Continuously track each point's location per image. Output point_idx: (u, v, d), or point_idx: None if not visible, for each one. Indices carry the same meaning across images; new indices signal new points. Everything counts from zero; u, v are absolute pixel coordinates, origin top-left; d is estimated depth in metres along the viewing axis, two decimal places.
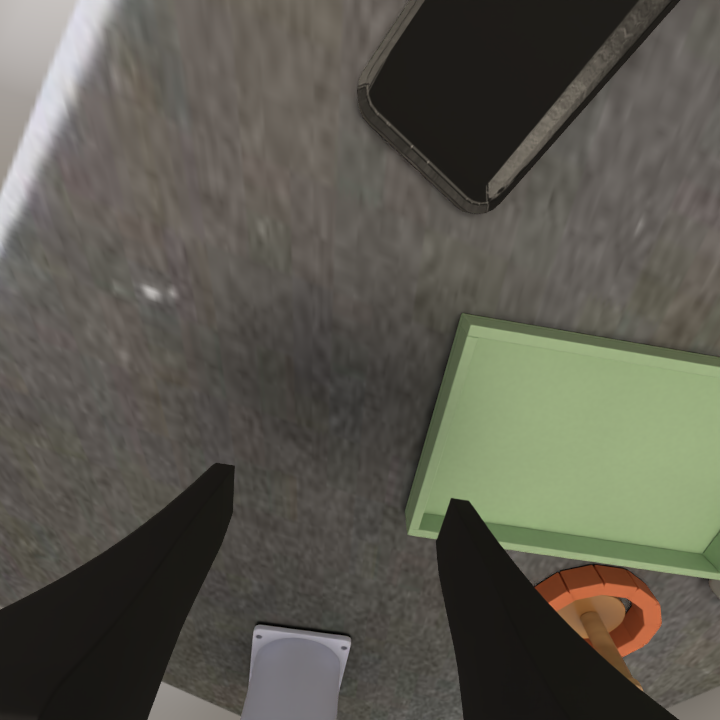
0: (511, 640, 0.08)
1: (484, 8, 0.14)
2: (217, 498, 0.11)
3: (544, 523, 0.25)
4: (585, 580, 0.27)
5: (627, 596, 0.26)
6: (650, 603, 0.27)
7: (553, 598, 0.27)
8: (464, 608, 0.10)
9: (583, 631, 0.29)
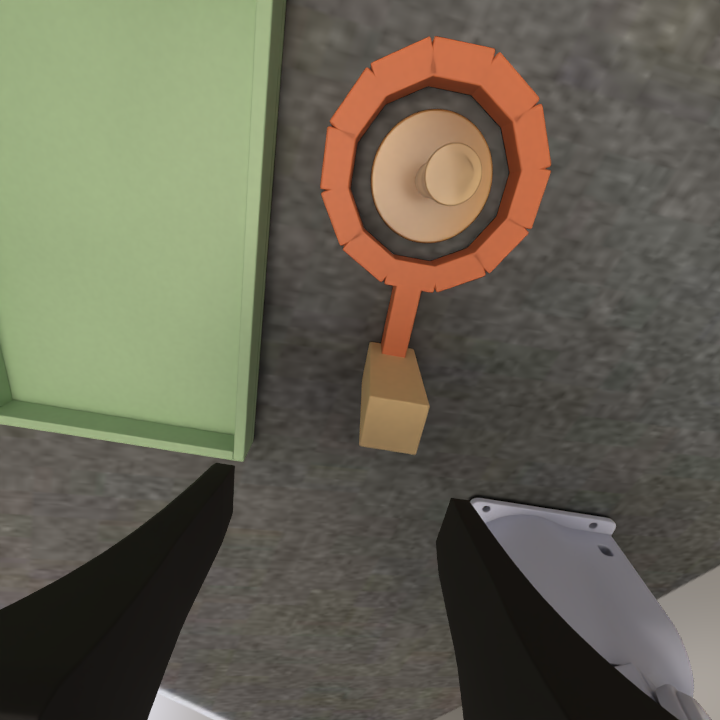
0: (512, 640, 0.08)
1: None
2: (217, 498, 0.11)
3: (237, 290, 0.19)
4: None
5: (350, 139, 0.15)
6: (367, 85, 0.14)
7: (363, 265, 0.17)
8: (464, 608, 0.10)
9: None
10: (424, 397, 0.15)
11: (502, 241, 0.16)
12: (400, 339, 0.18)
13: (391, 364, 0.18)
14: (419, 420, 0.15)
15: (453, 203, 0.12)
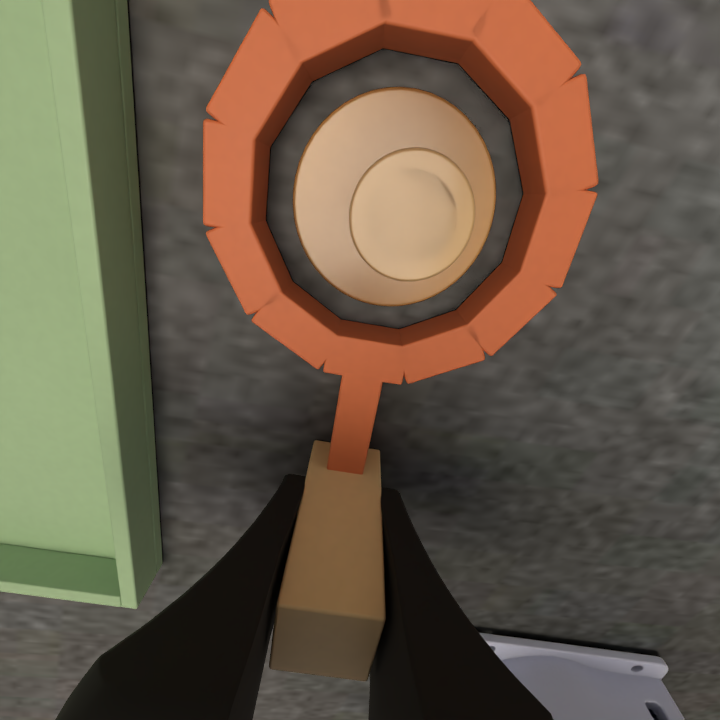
0: (398, 625, 0.08)
1: None
2: None
3: None
4: None
5: (245, 141, 0.09)
6: (265, 43, 0.08)
7: (287, 344, 0.11)
8: None
9: None
10: (378, 592, 0.09)
11: (512, 308, 0.10)
12: (353, 450, 0.12)
13: (337, 497, 0.11)
14: (368, 639, 0.08)
15: (414, 277, 0.06)
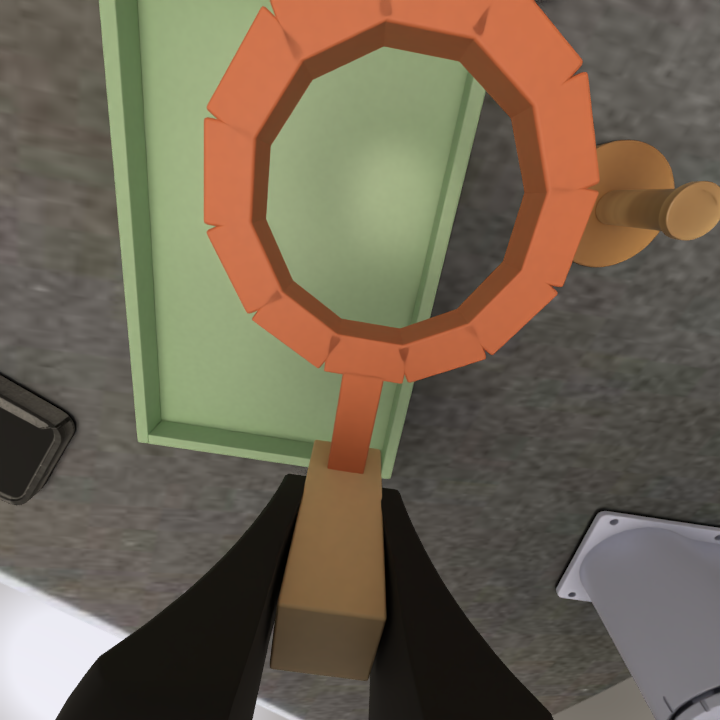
0: (398, 625, 0.08)
1: None
2: None
3: (400, 314, 0.19)
4: None
5: (245, 139, 0.09)
6: (266, 41, 0.08)
7: (287, 343, 0.11)
8: None
9: None
10: (379, 591, 0.09)
11: (513, 307, 0.10)
12: (354, 449, 0.12)
13: (338, 496, 0.11)
14: (369, 638, 0.08)
15: (690, 238, 0.13)
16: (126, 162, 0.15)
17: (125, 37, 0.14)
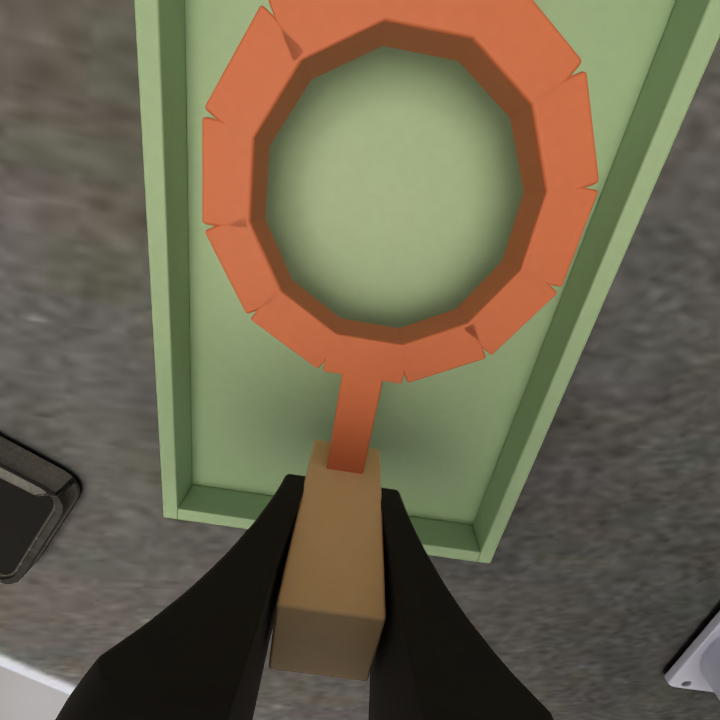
0: (398, 625, 0.08)
1: None
2: None
3: (521, 355, 0.14)
4: None
5: (244, 139, 0.09)
6: (264, 40, 0.08)
7: (286, 342, 0.11)
8: None
9: None
10: (378, 590, 0.09)
11: (513, 306, 0.10)
12: (353, 449, 0.12)
13: (337, 496, 0.11)
14: (369, 639, 0.08)
15: None
16: (162, 146, 0.10)
17: None
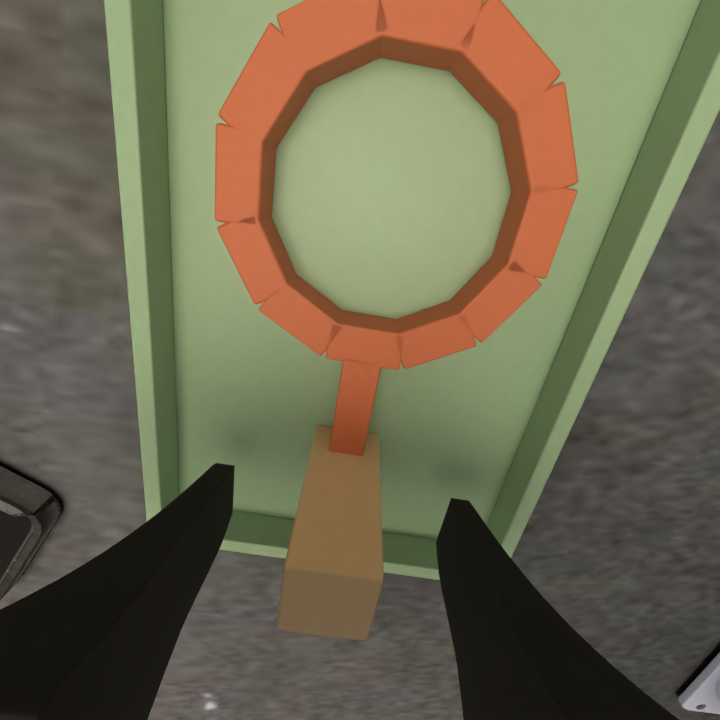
0: (512, 640, 0.08)
1: None
2: (217, 498, 0.11)
3: (532, 368, 0.13)
4: None
5: (254, 143, 0.09)
6: (273, 54, 0.09)
7: (291, 331, 0.11)
8: (464, 608, 0.10)
9: None
10: (377, 556, 0.10)
11: (501, 297, 0.11)
12: (354, 432, 0.13)
13: (339, 475, 0.12)
14: (368, 599, 0.09)
15: None
16: (137, 139, 0.09)
17: None
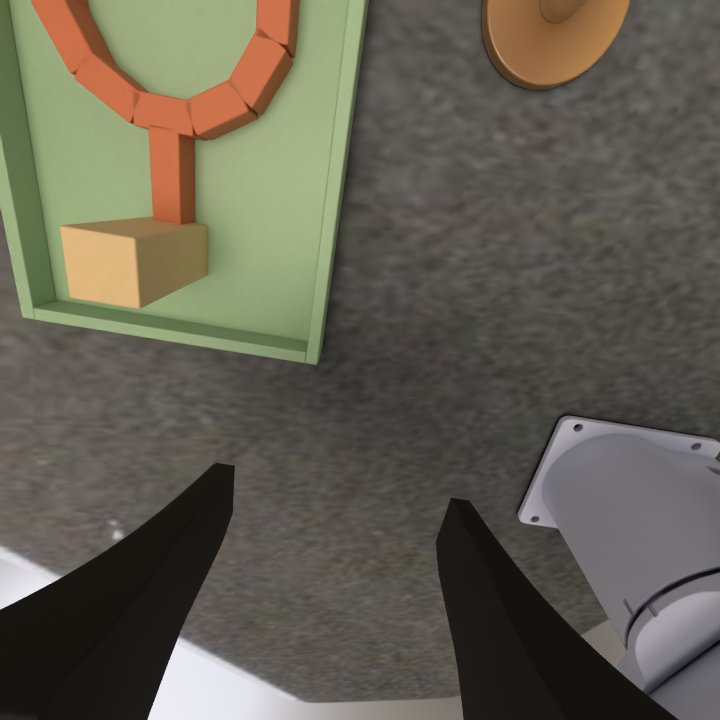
0: (512, 640, 0.08)
1: None
2: (217, 498, 0.11)
3: (319, 155, 0.16)
4: None
5: None
6: None
7: (104, 100, 0.15)
8: (464, 608, 0.10)
9: (604, 0, 0.14)
10: (140, 235, 0.13)
11: (257, 62, 0.14)
12: (169, 200, 0.16)
13: (148, 223, 0.15)
14: (128, 259, 0.12)
15: None
16: None
17: None
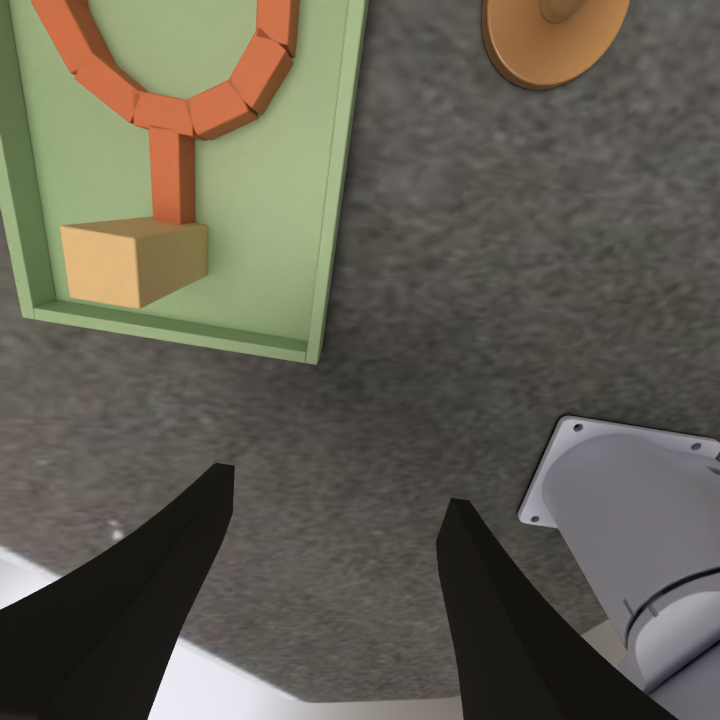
0: (512, 640, 0.08)
1: None
2: (217, 498, 0.11)
3: (319, 155, 0.16)
4: None
5: None
6: None
7: (104, 100, 0.15)
8: (464, 608, 0.10)
9: (604, 0, 0.14)
10: (140, 235, 0.13)
11: (257, 62, 0.14)
12: (169, 200, 0.16)
13: (148, 223, 0.15)
14: (128, 259, 0.12)
15: None
16: None
17: None
